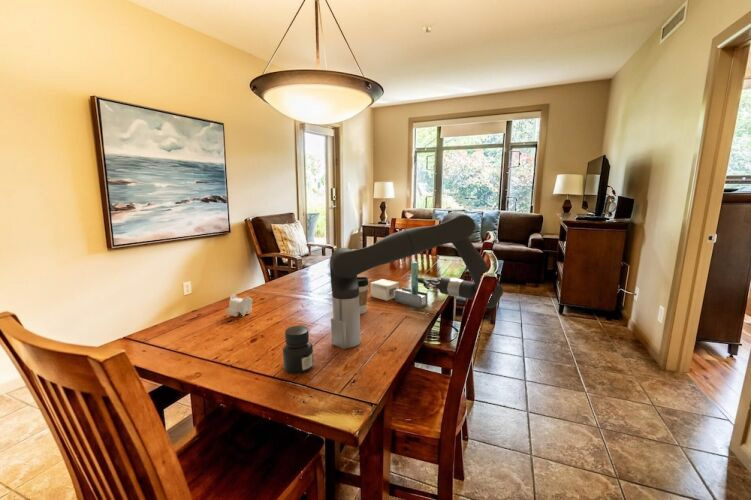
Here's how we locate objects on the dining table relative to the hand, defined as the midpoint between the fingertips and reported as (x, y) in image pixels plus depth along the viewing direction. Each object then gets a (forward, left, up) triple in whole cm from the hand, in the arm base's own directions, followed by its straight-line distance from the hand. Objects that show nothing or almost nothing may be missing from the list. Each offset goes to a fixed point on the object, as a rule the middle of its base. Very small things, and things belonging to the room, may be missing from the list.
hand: (418, 279), depth 153 cm
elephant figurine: (-59, +52, -12) cm, 80 cm away
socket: (0, +20, -12) cm, 23 cm away
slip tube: (0, +5, -11) cm, 12 cm away
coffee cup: (-23, +15, -12) cm, 30 cm away
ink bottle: (-68, -4, -12) cm, 69 cm away
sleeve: (0, +4, -12) cm, 13 cm away
